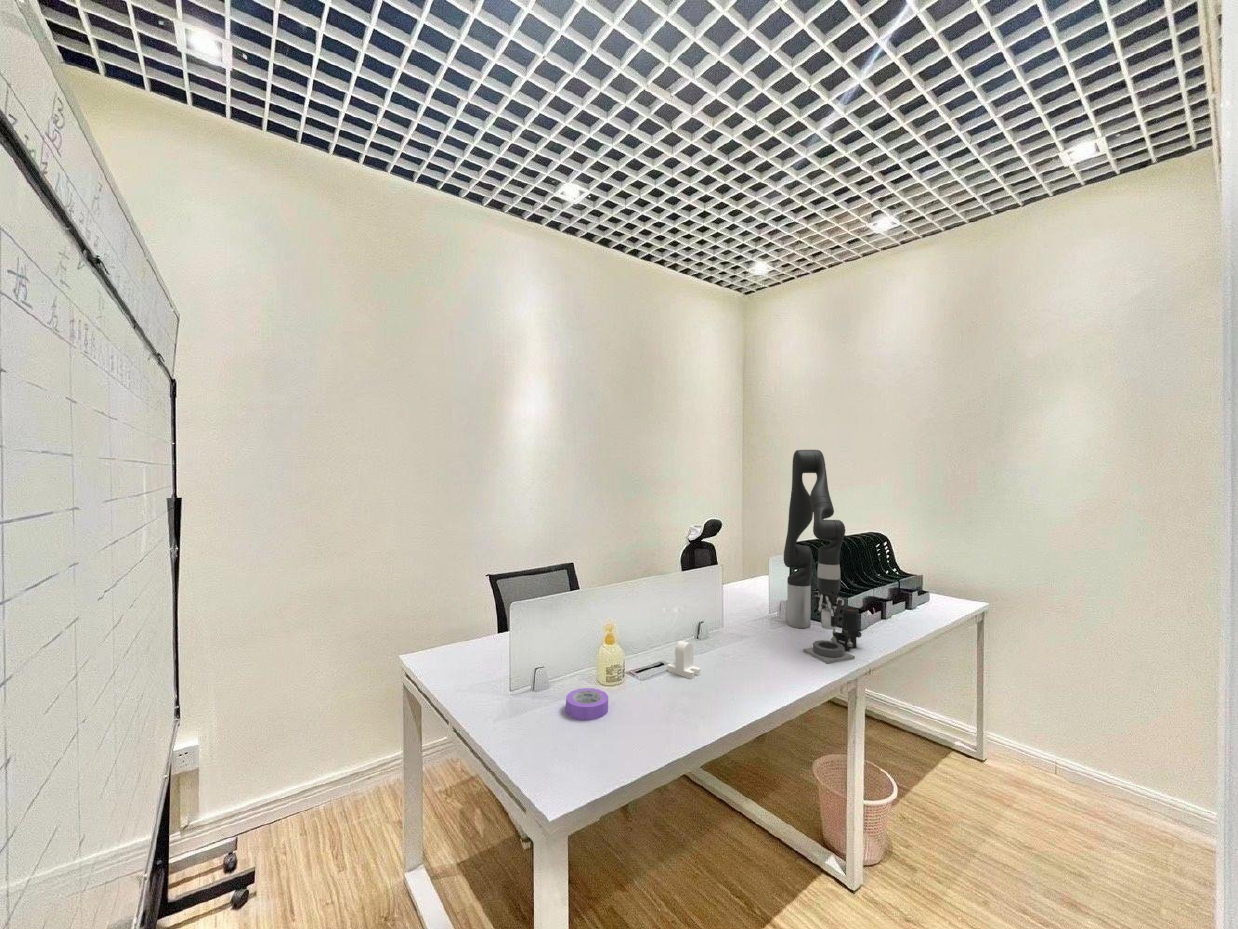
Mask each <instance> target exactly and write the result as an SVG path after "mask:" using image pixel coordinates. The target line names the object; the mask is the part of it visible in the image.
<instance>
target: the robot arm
mask: <svg viewBox="0 0 1238 929" xmlns="http://www.w3.org/2000/svg"><path fill="white" fill-rule="evenodd" d="M792 455H793V457H792V470H791V479H792V480H791V491H790V500H789V508H788V522H787V523H788V525H787V533H786V538H785V544H784V550H783V563H784V566H785V567H787V568H788V569H789V568H790V569H800V570H798V571H797V572H795V573H793V574H790V575H788V576H787V581H786V582H787V584H786V586H787V587H786V588H787V589H786V590H787V599H786V600H785V623H786V624H787V626H789V627H793V628H796V629H807V628H810V627H811V618H812V617H811V616H812V615H811V614H812V613H811V609H812V608H811V605H812V604H811V603H812V602H811V594H812V597H813V598H812V599H813V603H814V608H815V609H817V610H818V612H819V615H818V616H819V617H818V618H819V622H820V623H821V609H823V608H829V609H830V611H831V615H832V616H831V626H832V627H836V628H837V626H838V624H839V616H843V613H844V608H845V607H846V602H847V601H846V599H843V598H841V597H840V594H839V591H840V590H841V567H840V566H841V565H840V561H841V560H840V554H841V548H842V544H843V541H844V538H845V535H846V527H845V523H843V521H841V520H840V519H829V518H832V517H833V515H834V514H835V510H834V509H835V508H834V506H833V502H832V499H831V496H830V491H829V486H828V485H829V484H828V475H827V474H828V473H827V469H826V462H825V457H824V454H823V452H822V451H821V450H820V449H797V450H795V451H794V453H793V454H792ZM803 474H816V480H815V483H814V485H813V487H812V490H811V491H810V493H809V492H808V490H807V489H806V486H805V484H804V481H803ZM812 521H813V526H812V533H813V536H814V537H815V538H816V539H818V540H820V541H822V540H823V541H825V540H826V541H829V540H830V543H828V544H826V545H823V546H822V545H821V546H819V548H818V550H817V552H818V554H817V555H818V557H817V559H818V560H817V570H816V571H817V572H816V573H817V574H816V575H817V577H816V578H817V584H816V585H817V586H816V587H817V589H818V590H817V591H816V590H814V591H812V590H811V583H812V581H811V580H812V568H813V567H812V566H813V551H812V549H811V547H810V546H808V545H796V544H797V541H798V539H799V538H800V536H801V535H802V534H803V532H804V531H805V530H807V528H808V527H809V525H811V523H812ZM811 591H812V593H811ZM834 610H835V612H834Z"/></svg>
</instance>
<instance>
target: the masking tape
mask: <svg viewBox="0 0 1238 929" xmlns="http://www.w3.org/2000/svg"><path fill="white" fill-rule="evenodd" d="M608 711H609V695H608V694H607V692H605V691H603V690H602V689H599V688H591V687H587V688H586V687H585V688H584V687H583V688H577V689H573V690H572V691H570V692H569V693H567V695H566V697H565V713H566V715H567V716H568V717H570V718H571V719H575V720H578V721H592V720H593V721H594V720H597V719H600V718H603V717H604V716H606V715H607V714H608Z"/></svg>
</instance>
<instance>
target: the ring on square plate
mask: <svg viewBox="0 0 1238 929" xmlns="http://www.w3.org/2000/svg"><path fill="white" fill-rule="evenodd" d="M802 652H804V653H805V654H806V655H809V656H811V657H813V658H815V659H817V660H819V661H821V662H823V663H825V664H826V665H827V664H833V663H835V664H836V663H839V662H845V661H846V662H847V661H851V660H855V658H856V657H855V655H854V654H852V653H849V652H848V651H845V648H844V646H843V645H842V644H839V643H837V642H833V641H831V640H825V639H823V640H822V639H821V640H815V641H813V642H812V647H806V648H803V649H802Z"/></svg>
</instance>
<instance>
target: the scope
mask: <svg viewBox="0 0 1238 929" xmlns="http://www.w3.org/2000/svg"><path fill="white" fill-rule="evenodd" d="M859 613H860V611H859V609H858V608H856V607H850V606H845V608H844V612H843V615H842V625H841V632H839V631H838V632H837V631H836V629H832V632H831V633H832V637H831V639H830V641H833V642H837V643H839V644H842V645H843V646H844V648H845V652H850V650H851V649H856V648H857V638H861V637H862V632H861V631H860V628H859Z"/></svg>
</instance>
